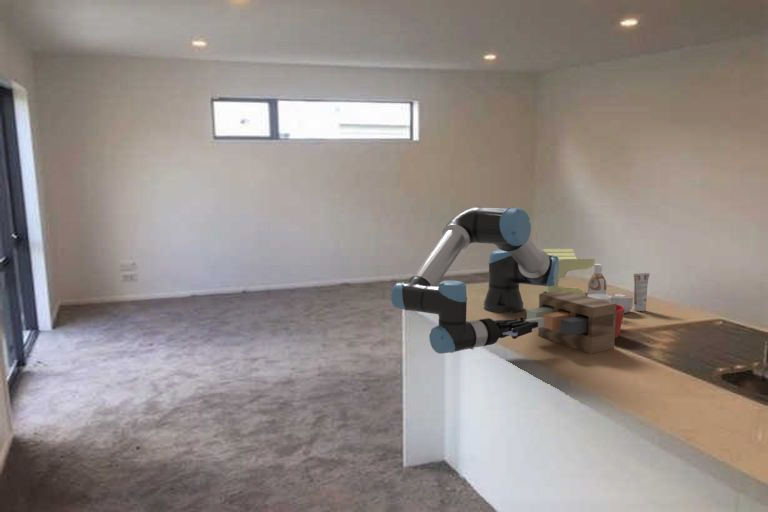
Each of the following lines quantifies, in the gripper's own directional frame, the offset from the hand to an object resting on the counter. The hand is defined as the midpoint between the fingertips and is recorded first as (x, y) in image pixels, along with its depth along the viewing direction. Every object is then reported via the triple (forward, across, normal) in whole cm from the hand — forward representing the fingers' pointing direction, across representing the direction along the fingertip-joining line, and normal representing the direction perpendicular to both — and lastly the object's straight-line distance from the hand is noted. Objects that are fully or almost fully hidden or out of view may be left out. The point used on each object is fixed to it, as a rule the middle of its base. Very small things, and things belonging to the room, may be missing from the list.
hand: (542, 321), depth 178 cm
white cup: (+37, -11, -9) cm, 40 cm away
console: (+14, 0, -8) cm, 17 cm away
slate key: (+8, +7, -2) cm, 11 cm away
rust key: (+7, 0, -2) cm, 8 cm away
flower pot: (+28, 0, -9) cm, 29 cm away
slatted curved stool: (+62, -52, -8) cm, 82 cm away
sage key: (+7, -7, -2) cm, 10 cm away
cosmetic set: (+57, -19, -9) cm, 61 cm away
